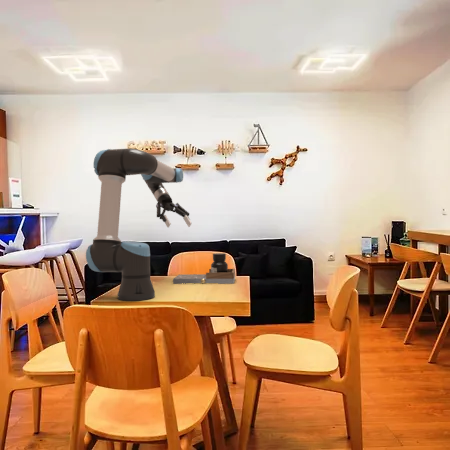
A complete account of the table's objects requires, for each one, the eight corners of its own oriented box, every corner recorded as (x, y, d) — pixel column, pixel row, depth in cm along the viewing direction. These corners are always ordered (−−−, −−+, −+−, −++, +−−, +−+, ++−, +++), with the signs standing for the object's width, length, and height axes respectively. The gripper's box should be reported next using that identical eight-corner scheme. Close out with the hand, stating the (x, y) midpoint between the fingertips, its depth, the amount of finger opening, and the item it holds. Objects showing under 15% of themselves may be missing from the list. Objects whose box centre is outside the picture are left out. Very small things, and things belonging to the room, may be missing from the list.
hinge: (233, 283, 193) (233, 278, 193) (172, 284, 195) (172, 278, 195) (235, 278, 211) (235, 273, 211) (179, 278, 213) (179, 273, 213)
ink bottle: (211, 275, 207) (210, 253, 207) (227, 274, 208) (227, 252, 208) (211, 277, 198) (211, 254, 198) (228, 277, 198) (228, 254, 198)
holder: (233, 278, 194) (233, 272, 194) (206, 278, 195) (206, 272, 195) (235, 274, 210) (234, 268, 210) (209, 274, 211) (209, 268, 211)
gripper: (178, 203, 223) (195, 229, 212) (141, 202, 206) (157, 231, 195) (184, 194, 219) (201, 220, 209) (146, 192, 202) (162, 220, 191)
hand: (180, 225), depth 202 cm, fingers open, 13 cm apart
